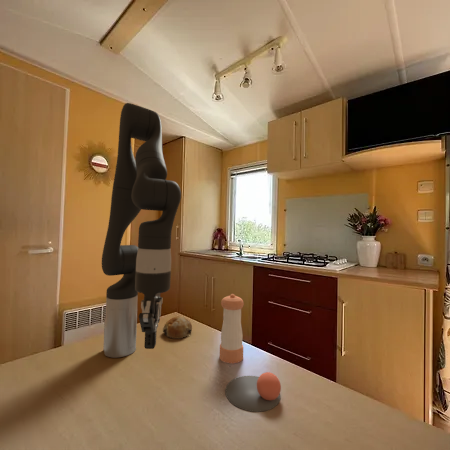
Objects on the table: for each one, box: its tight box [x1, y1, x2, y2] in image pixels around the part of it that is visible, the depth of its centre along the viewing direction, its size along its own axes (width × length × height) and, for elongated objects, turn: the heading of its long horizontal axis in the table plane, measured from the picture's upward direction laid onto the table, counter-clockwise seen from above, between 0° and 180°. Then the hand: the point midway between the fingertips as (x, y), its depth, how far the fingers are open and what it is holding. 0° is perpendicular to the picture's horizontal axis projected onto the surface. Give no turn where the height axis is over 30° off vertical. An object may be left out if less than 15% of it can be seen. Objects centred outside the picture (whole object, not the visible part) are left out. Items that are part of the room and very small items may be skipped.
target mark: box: [225, 375, 281, 413], centre depth 60 cm, size 13×13×1 cm
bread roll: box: [162, 315, 193, 339], centre depth 93 cm, size 10×10×8 cm
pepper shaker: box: [219, 293, 245, 364], centre depth 77 cm, size 7×7×19 cm
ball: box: [257, 371, 282, 400], centre depth 58 cm, size 6×6×6 cm
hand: (150, 347), depth 55 cm, fingers closed
